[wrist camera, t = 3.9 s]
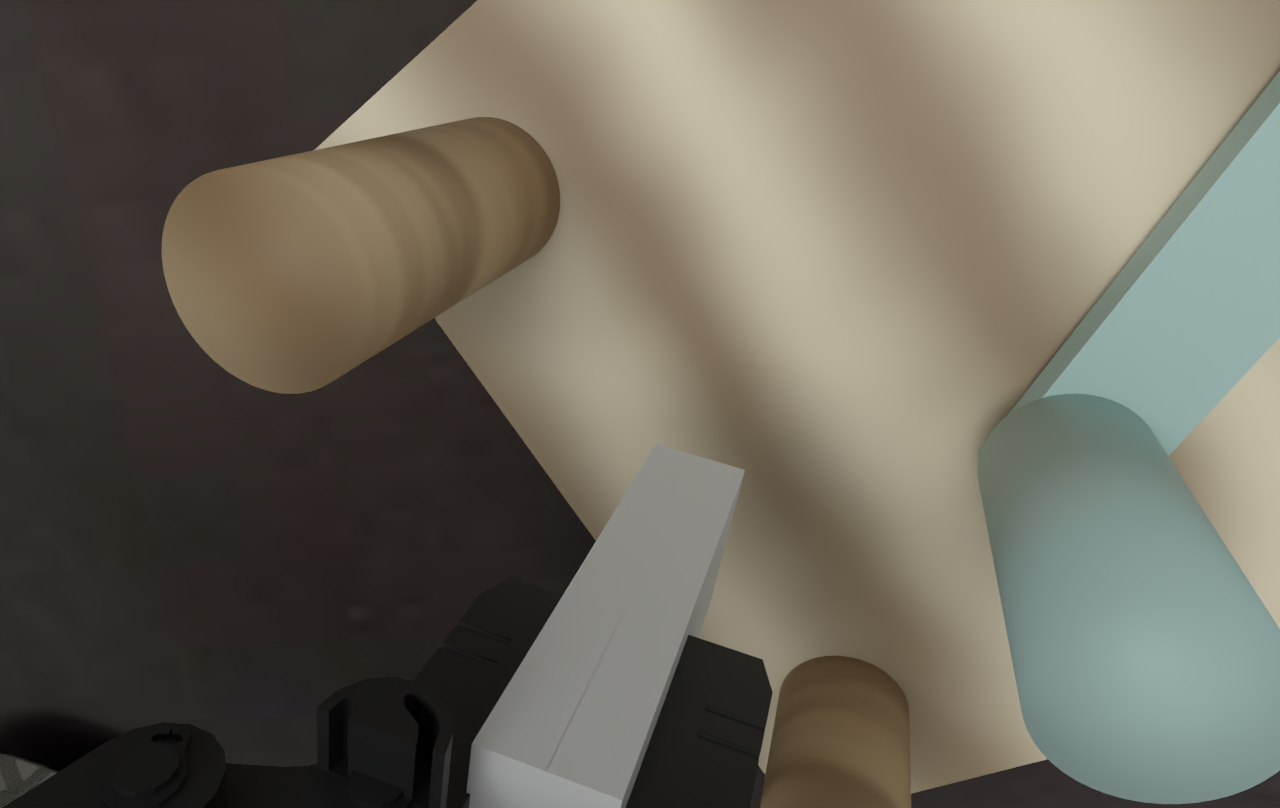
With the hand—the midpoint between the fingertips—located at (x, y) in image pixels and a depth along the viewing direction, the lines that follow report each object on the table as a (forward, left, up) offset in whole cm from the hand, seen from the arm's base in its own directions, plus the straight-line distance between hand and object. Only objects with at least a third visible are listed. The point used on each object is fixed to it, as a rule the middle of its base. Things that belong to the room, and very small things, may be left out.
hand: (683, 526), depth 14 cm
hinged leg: (+9, -3, -7) cm, 12 cm away
